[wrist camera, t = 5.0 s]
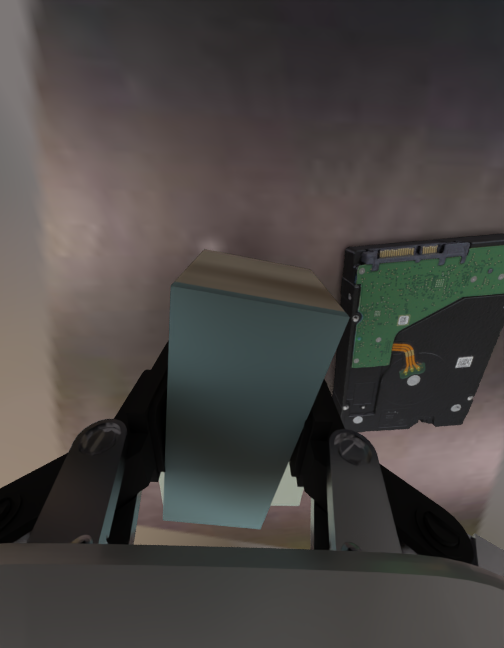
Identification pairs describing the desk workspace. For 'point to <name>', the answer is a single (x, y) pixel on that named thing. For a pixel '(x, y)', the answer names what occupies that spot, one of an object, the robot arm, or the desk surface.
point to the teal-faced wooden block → (241, 383)
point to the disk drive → (417, 330)
